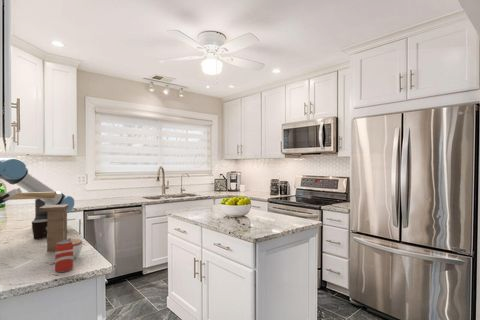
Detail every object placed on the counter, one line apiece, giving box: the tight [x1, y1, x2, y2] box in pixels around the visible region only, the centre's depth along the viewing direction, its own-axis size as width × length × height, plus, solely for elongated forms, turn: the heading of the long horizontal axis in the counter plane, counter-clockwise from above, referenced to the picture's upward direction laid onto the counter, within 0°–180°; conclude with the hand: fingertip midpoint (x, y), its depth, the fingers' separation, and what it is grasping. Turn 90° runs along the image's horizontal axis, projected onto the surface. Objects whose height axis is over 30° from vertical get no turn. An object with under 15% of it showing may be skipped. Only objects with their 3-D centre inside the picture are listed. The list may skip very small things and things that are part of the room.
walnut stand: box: [39, 204, 69, 253], centre depth 146 cm, size 9×11×22 cm
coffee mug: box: [31, 219, 47, 240], centre depth 170 cm, size 12×9×10 cm
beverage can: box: [54, 239, 74, 273], centre depth 119 cm, size 6×6×12 cm
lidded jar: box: [56, 237, 83, 260], centre depth 133 cm, size 11×11×9 cm
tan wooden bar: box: [0, 191, 56, 201], centre depth 142 cm, size 4×24×3 cm, turn 108°
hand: (18, 190), depth 141 cm, fingers closed on tan wooden bar, 4 cm apart
